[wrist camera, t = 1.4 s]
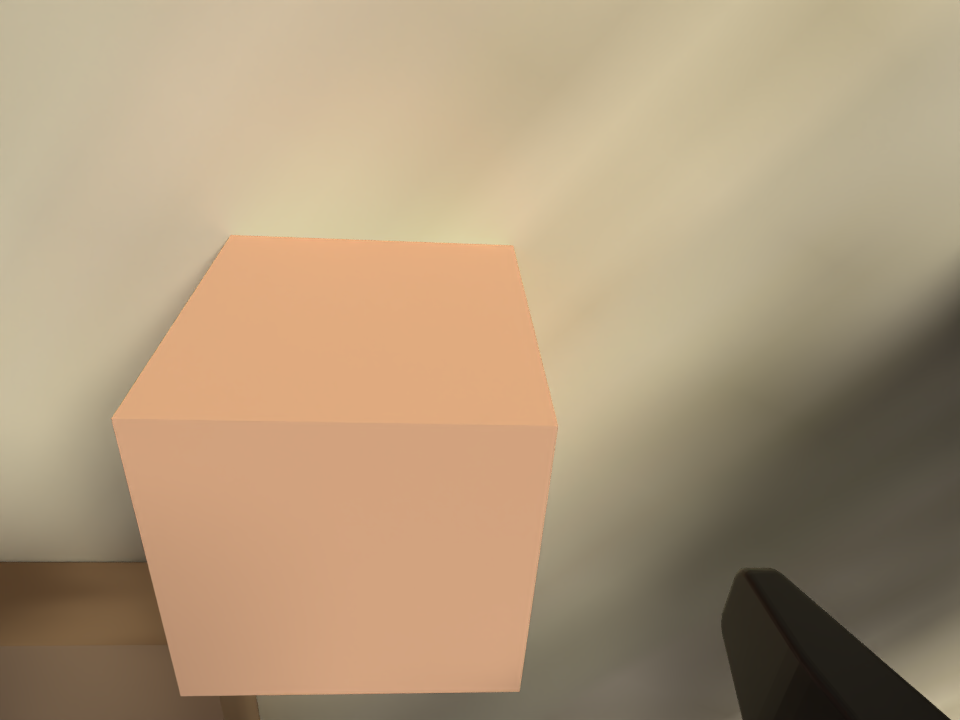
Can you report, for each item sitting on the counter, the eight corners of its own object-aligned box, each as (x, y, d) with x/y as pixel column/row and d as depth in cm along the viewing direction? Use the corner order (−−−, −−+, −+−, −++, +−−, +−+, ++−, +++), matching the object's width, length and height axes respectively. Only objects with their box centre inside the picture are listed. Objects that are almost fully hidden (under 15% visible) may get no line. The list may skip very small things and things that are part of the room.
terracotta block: (512, 244, 12) (557, 426, 8) (493, 459, 14) (519, 692, 10) (231, 233, 11) (111, 418, 7) (259, 456, 14) (181, 696, 9)
